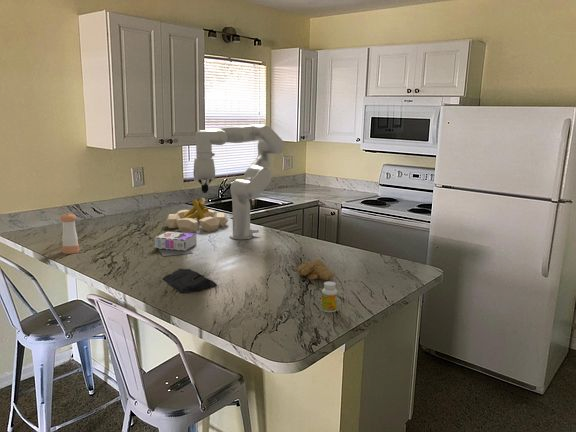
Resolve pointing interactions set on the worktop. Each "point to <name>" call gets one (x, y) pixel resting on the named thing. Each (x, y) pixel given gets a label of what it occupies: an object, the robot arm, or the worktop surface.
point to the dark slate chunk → (188, 281)
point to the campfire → (203, 215)
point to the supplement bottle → (329, 297)
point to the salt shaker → (69, 234)
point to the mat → (173, 252)
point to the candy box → (175, 241)
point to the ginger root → (315, 270)
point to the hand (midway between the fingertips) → (204, 192)
